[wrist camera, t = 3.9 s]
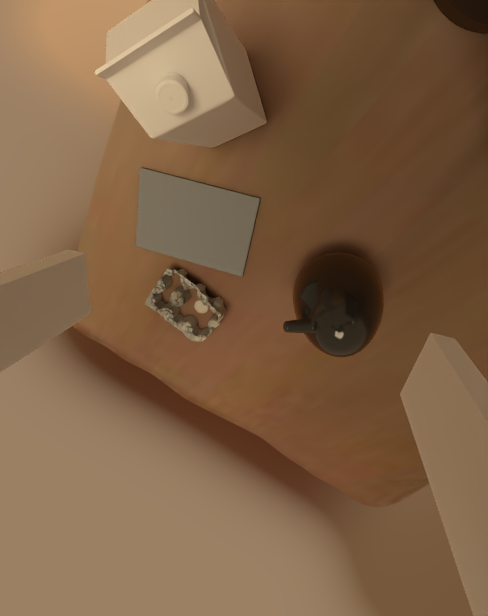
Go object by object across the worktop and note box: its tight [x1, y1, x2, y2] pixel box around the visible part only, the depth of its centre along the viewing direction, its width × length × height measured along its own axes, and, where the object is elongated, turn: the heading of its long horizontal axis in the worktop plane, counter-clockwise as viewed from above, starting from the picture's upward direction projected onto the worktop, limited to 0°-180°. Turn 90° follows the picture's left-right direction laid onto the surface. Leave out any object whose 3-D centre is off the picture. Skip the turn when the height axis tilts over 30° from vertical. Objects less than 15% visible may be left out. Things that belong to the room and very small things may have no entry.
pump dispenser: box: [283, 252, 384, 357], centre depth 34 cm, size 10×10×15 cm
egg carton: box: [145, 268, 226, 341], centre depth 45 cm, size 11×8×4 cm
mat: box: [136, 168, 261, 277], centre depth 41 cm, size 16×10×1 cm, turn 77°
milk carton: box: [95, 0, 267, 148], centre depth 26 cm, size 7×7×19 cm
